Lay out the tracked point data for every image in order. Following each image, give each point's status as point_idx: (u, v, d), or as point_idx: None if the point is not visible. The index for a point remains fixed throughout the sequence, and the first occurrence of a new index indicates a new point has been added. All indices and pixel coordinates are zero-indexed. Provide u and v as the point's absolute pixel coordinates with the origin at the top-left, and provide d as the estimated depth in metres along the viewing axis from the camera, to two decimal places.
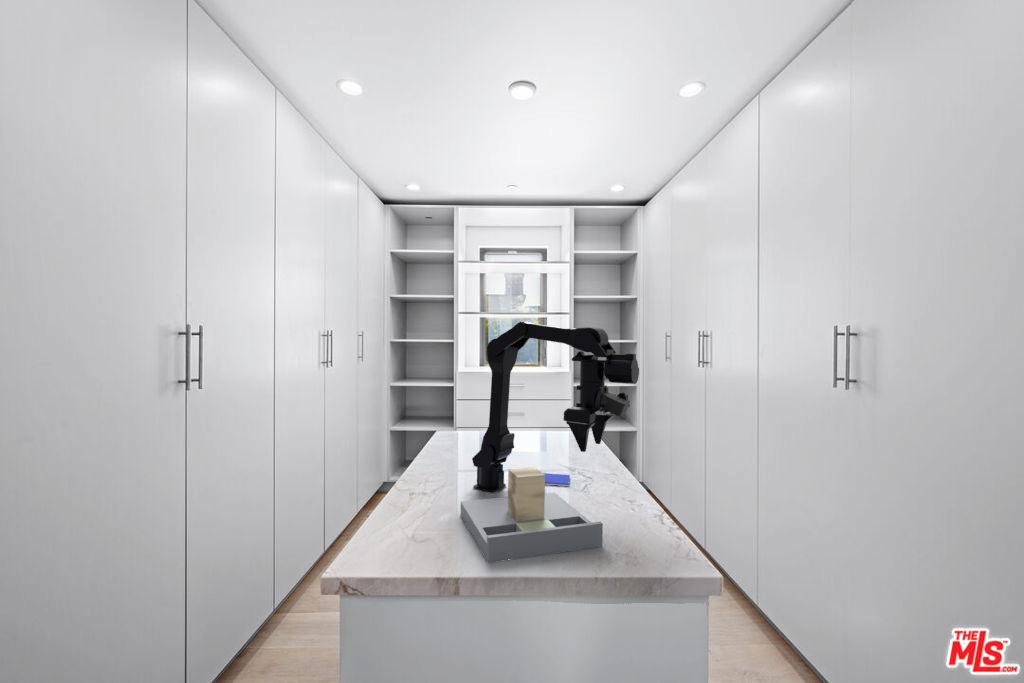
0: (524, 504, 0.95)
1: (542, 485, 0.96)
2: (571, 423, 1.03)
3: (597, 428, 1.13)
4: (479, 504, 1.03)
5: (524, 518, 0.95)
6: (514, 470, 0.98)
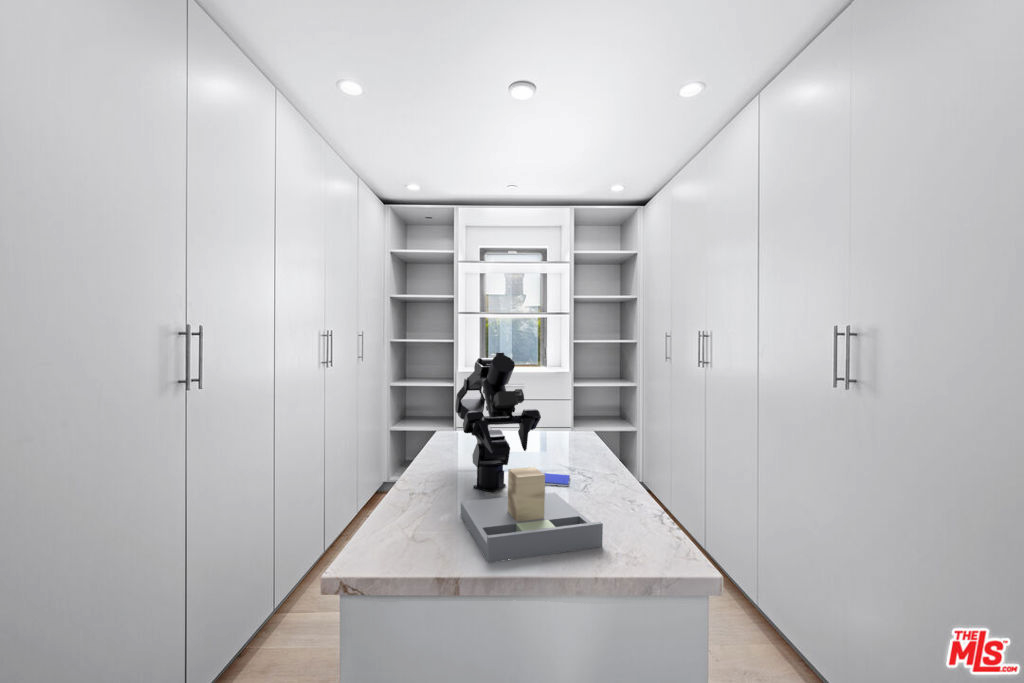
0: (524, 504, 0.95)
1: (542, 485, 0.96)
2: (472, 431, 1.12)
3: (522, 437, 1.13)
4: (479, 504, 1.03)
5: (524, 518, 0.95)
6: (514, 470, 0.98)
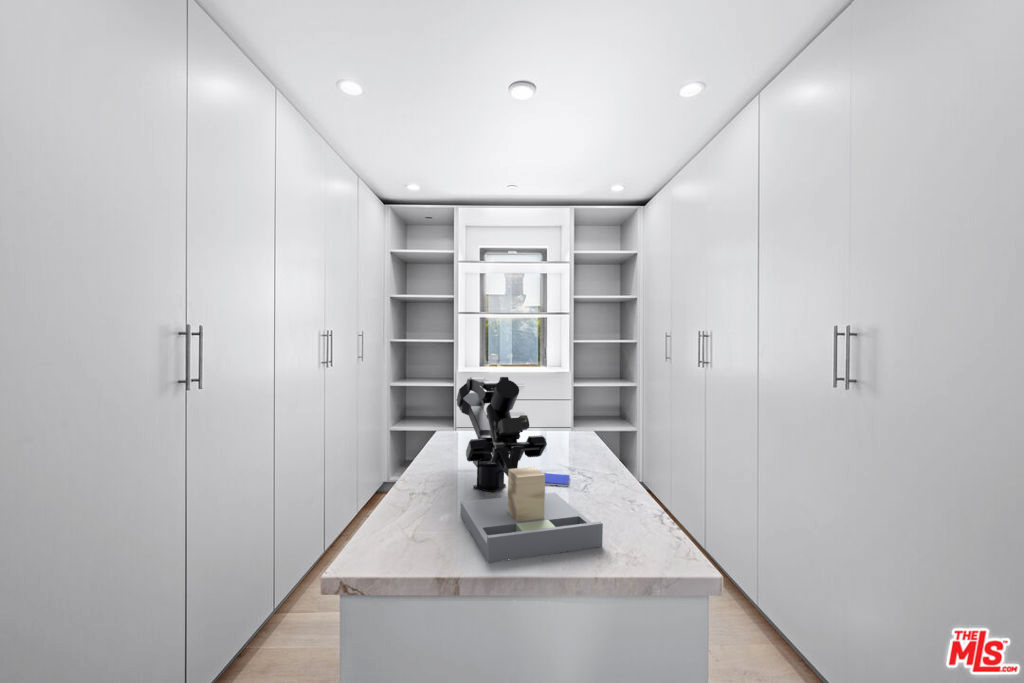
0: (524, 504, 0.95)
1: (542, 485, 0.96)
2: (492, 458, 1.09)
3: None
4: (479, 504, 1.03)
5: (524, 518, 0.95)
6: (514, 470, 0.98)
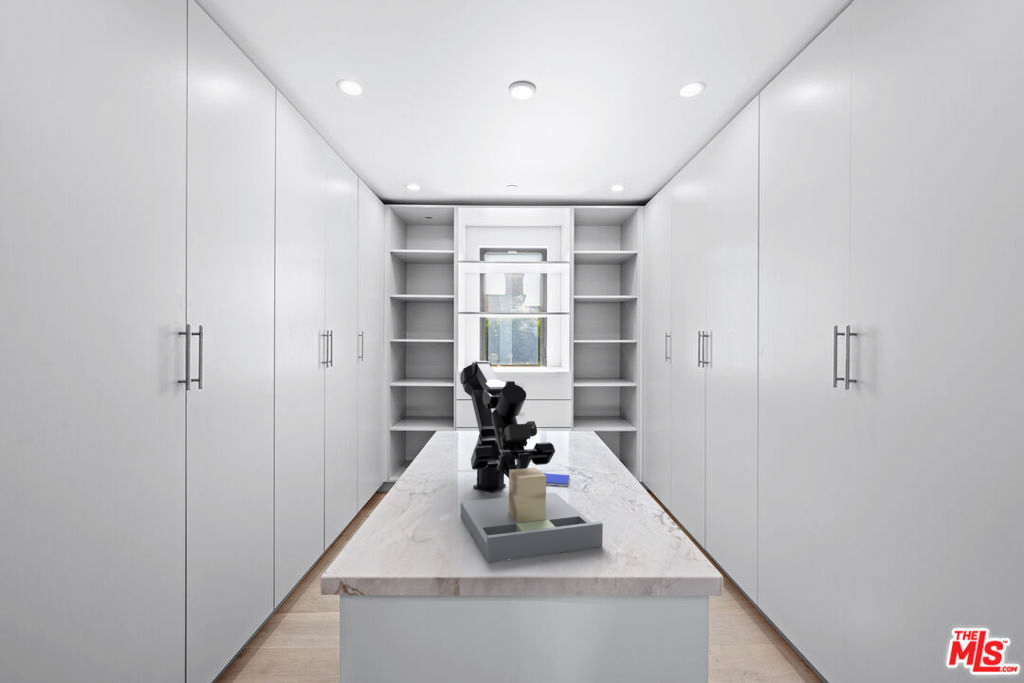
0: (525, 505, 0.94)
1: (543, 486, 0.95)
2: (498, 466, 1.05)
3: None
4: (479, 504, 1.03)
5: (525, 519, 0.94)
6: (515, 471, 0.98)
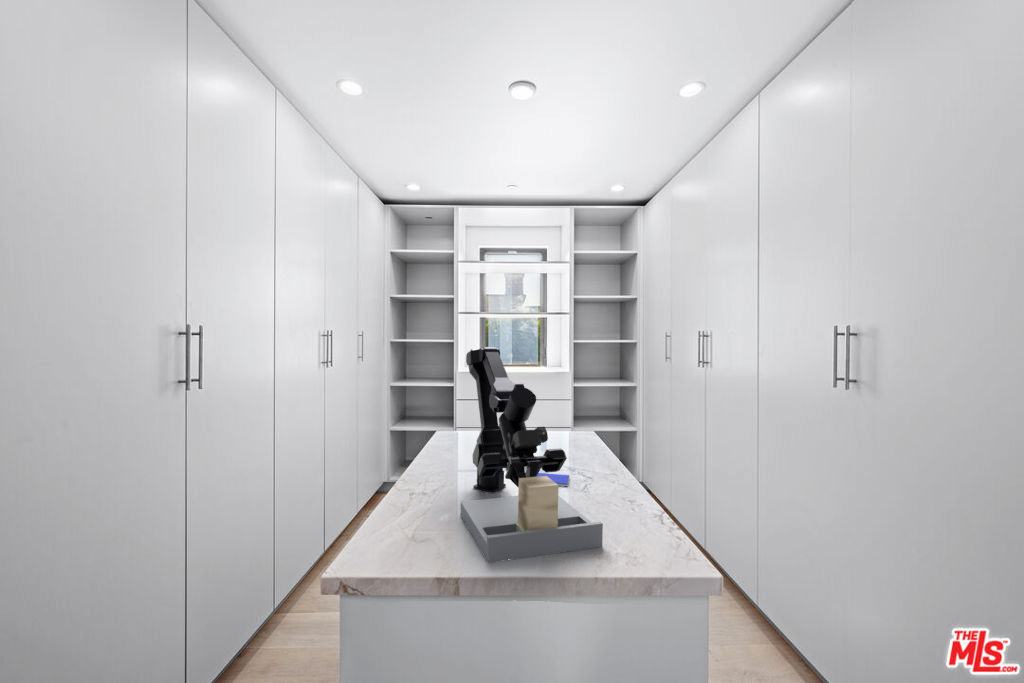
0: (536, 517, 0.88)
1: (555, 496, 0.89)
2: (506, 474, 0.99)
3: None
4: (479, 504, 1.03)
5: None
6: (525, 480, 0.92)
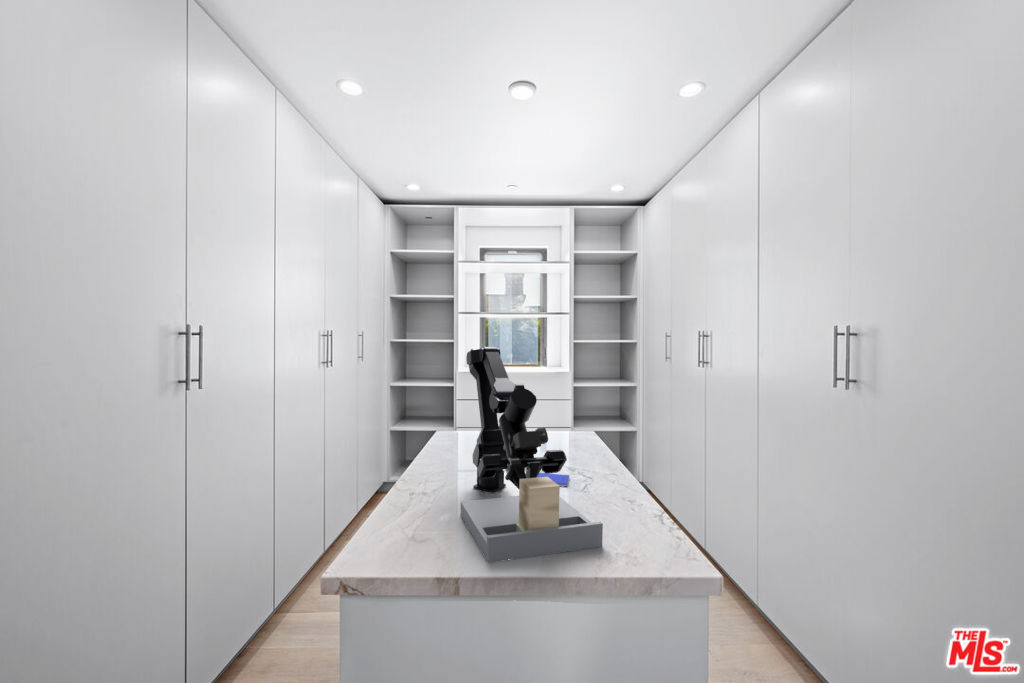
0: (537, 518, 0.88)
1: (556, 497, 0.89)
2: (506, 476, 0.99)
3: None
4: (479, 504, 1.03)
5: None
6: (526, 481, 0.92)
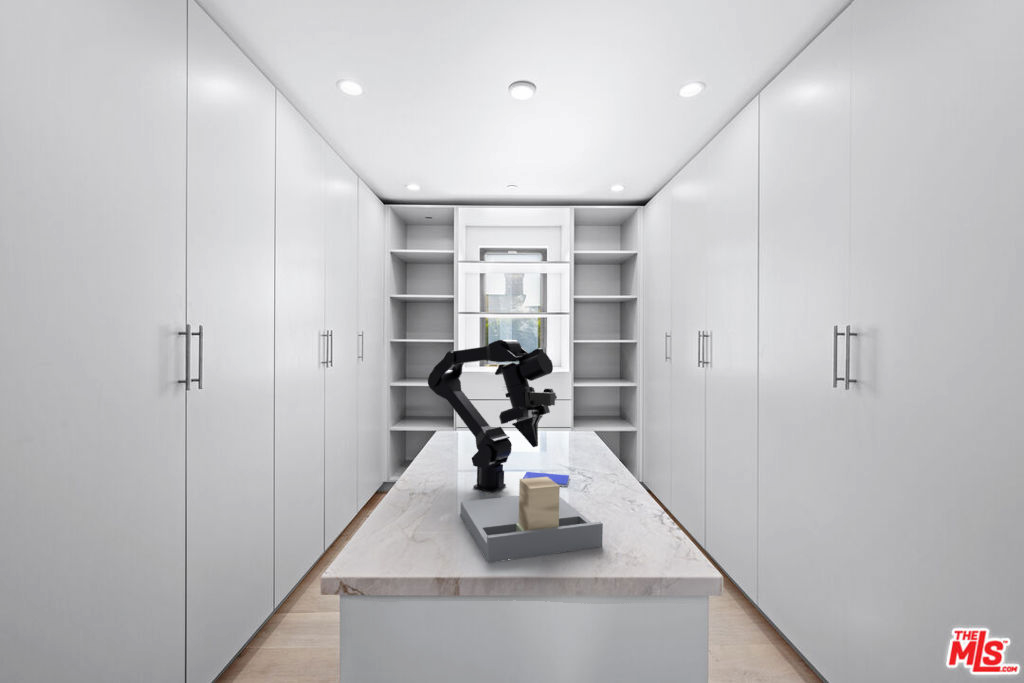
0: (537, 518, 0.88)
1: (556, 497, 0.89)
2: (516, 423, 1.14)
3: None
4: (479, 504, 1.03)
5: None
6: (526, 481, 0.92)
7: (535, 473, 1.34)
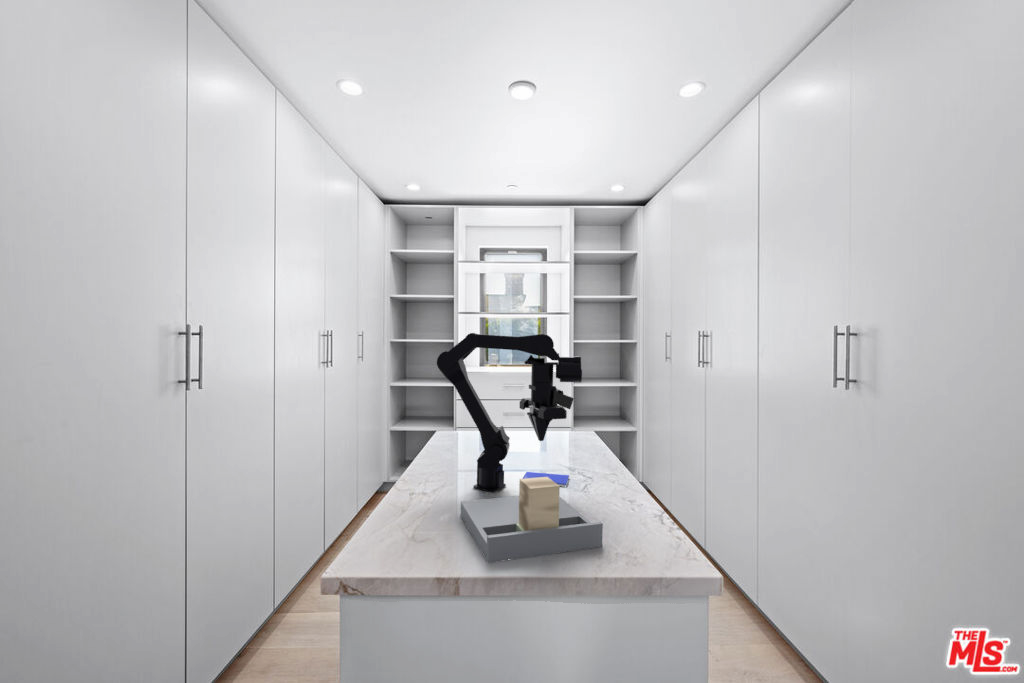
0: (537, 518, 0.88)
1: (556, 497, 0.89)
2: (541, 417, 1.19)
3: None
4: (479, 504, 1.03)
5: None
6: (526, 481, 0.92)
7: (535, 473, 1.34)
